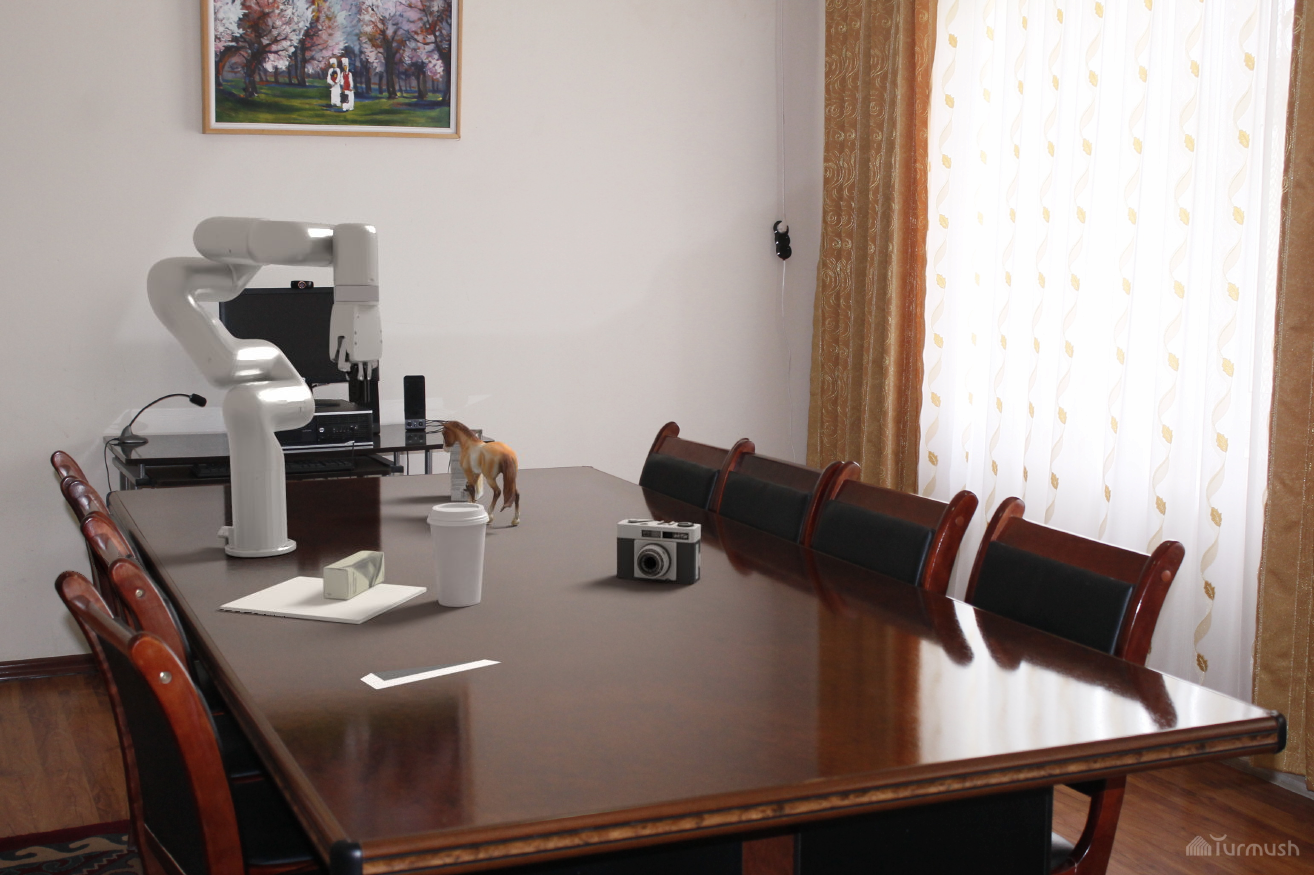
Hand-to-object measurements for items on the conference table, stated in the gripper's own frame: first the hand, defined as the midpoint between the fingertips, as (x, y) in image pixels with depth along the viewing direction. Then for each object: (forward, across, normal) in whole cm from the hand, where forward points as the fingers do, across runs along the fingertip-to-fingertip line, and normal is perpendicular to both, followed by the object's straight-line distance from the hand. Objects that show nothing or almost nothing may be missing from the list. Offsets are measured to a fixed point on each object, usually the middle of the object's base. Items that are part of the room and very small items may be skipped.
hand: (359, 402), depth 199 cm
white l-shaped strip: (+30, +37, +37) cm, 60 cm away
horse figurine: (+29, -44, 0) cm, 53 cm away
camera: (+29, -7, +52) cm, 60 cm away
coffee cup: (+29, +16, +27) cm, 43 cm away
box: (+26, +10, +8) cm, 29 cm away
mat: (+29, +22, +7) cm, 37 cm away
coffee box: (+29, -70, -15) cm, 77 cm away
